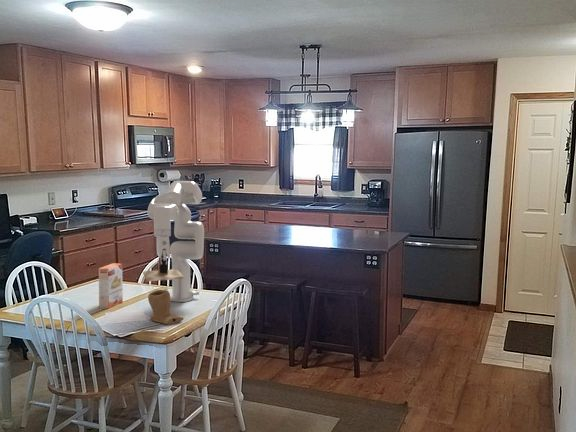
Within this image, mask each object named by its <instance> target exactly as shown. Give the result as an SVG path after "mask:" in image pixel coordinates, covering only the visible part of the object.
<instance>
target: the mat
mask: <svg viewBox="0 0 576 432" xmlns="http://www.w3.org/2000/svg"><path fill="white" fill-rule="evenodd" d="M104 315H105V321H106V324H107V325H113V324H121V323H123V324H124V323H129V322H130V323H131V322H142V321H148V319H147V316H146V314H145V312H144V309H143V308H141V309H131V310H119V311H110V312H104Z"/></svg>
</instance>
